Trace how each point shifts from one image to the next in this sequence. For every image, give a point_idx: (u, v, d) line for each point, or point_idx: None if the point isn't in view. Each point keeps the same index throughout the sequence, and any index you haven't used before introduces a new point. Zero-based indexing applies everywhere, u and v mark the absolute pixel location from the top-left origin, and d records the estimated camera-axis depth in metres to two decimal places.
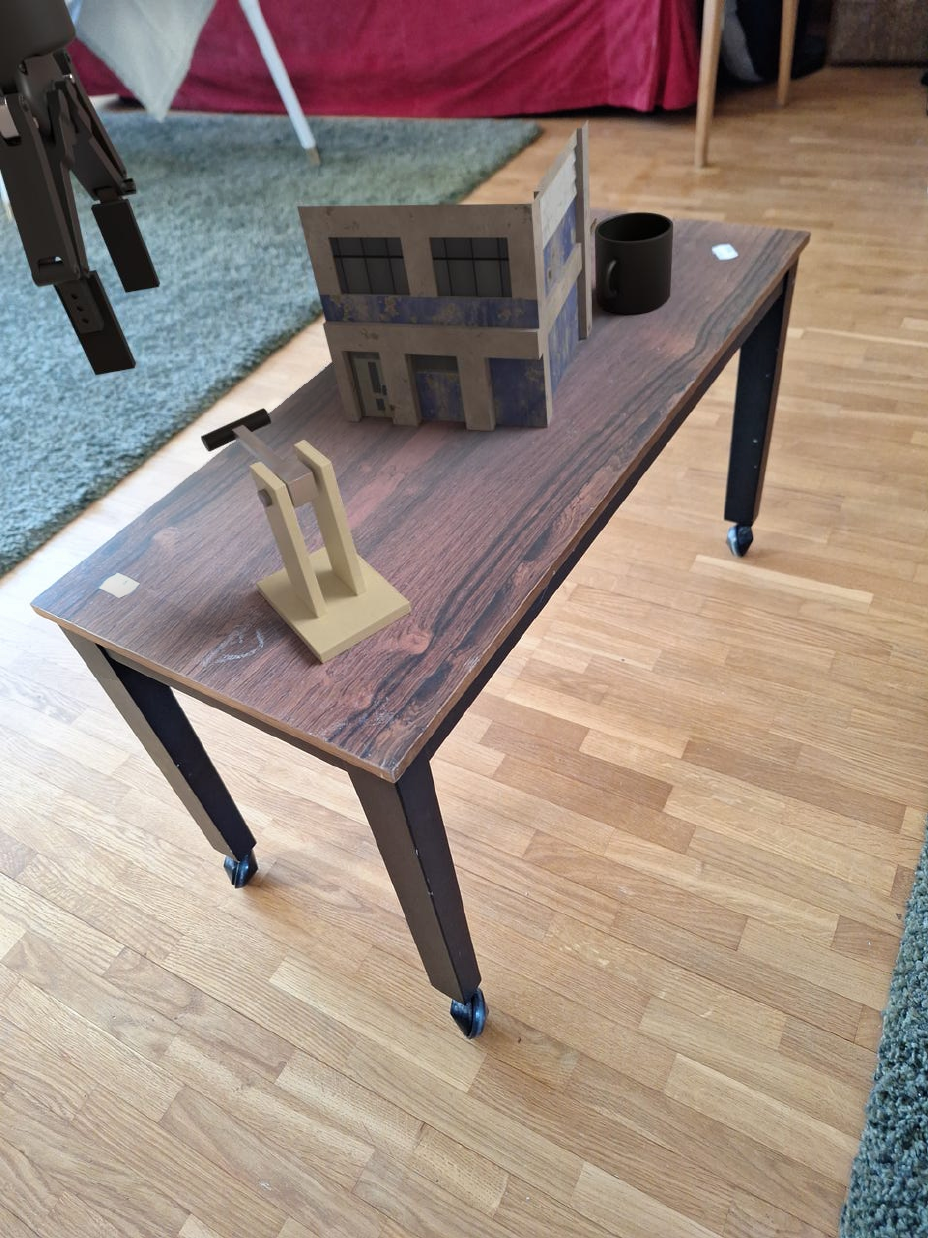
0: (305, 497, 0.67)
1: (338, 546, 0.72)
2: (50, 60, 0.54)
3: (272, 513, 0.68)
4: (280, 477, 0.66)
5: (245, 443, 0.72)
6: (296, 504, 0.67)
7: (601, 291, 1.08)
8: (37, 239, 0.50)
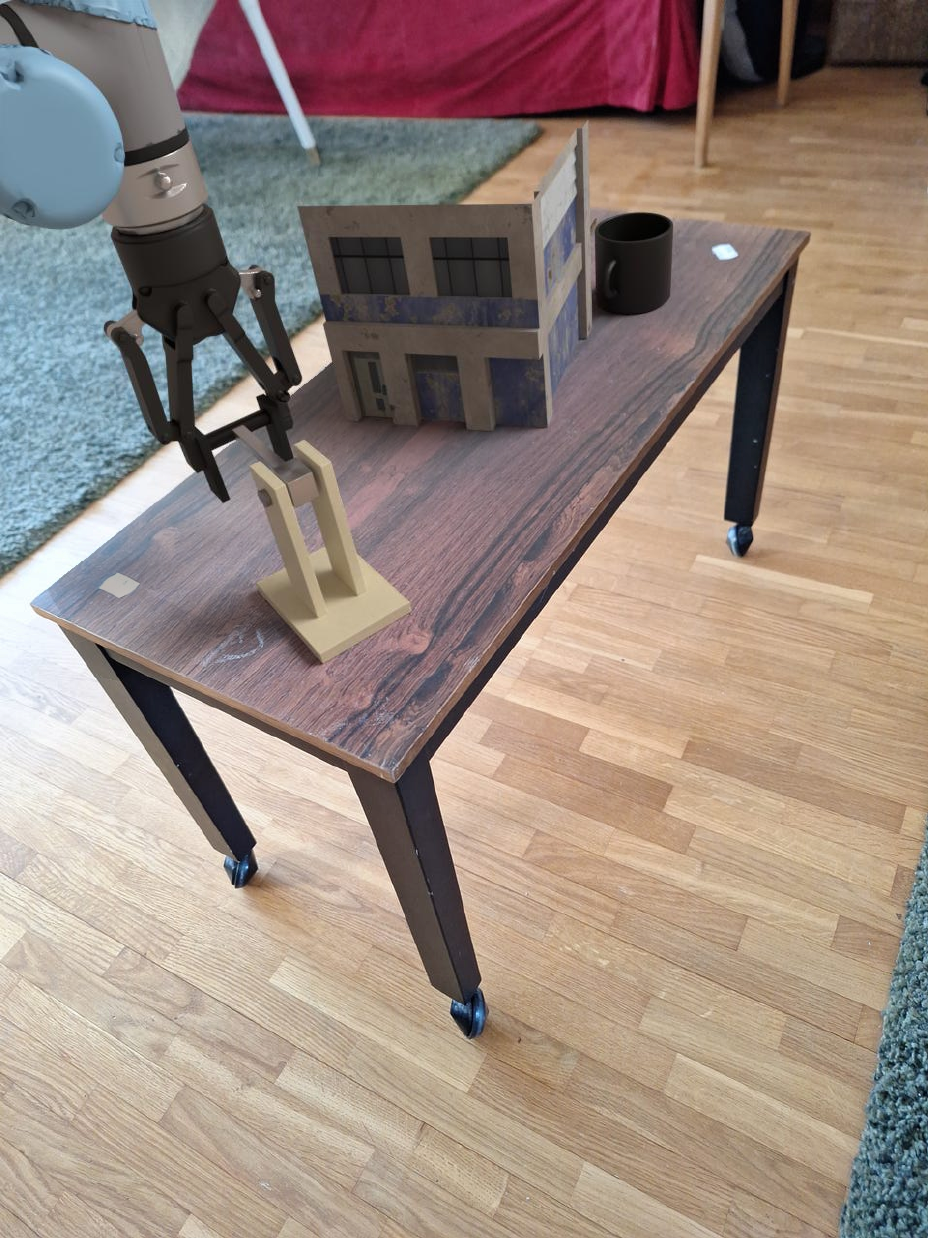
0: (305, 497, 0.67)
1: (338, 546, 0.72)
2: (218, 274, 0.65)
3: (272, 513, 0.68)
4: (280, 477, 0.66)
5: (245, 443, 0.72)
6: (296, 504, 0.67)
7: (601, 291, 1.08)
8: (144, 413, 0.69)
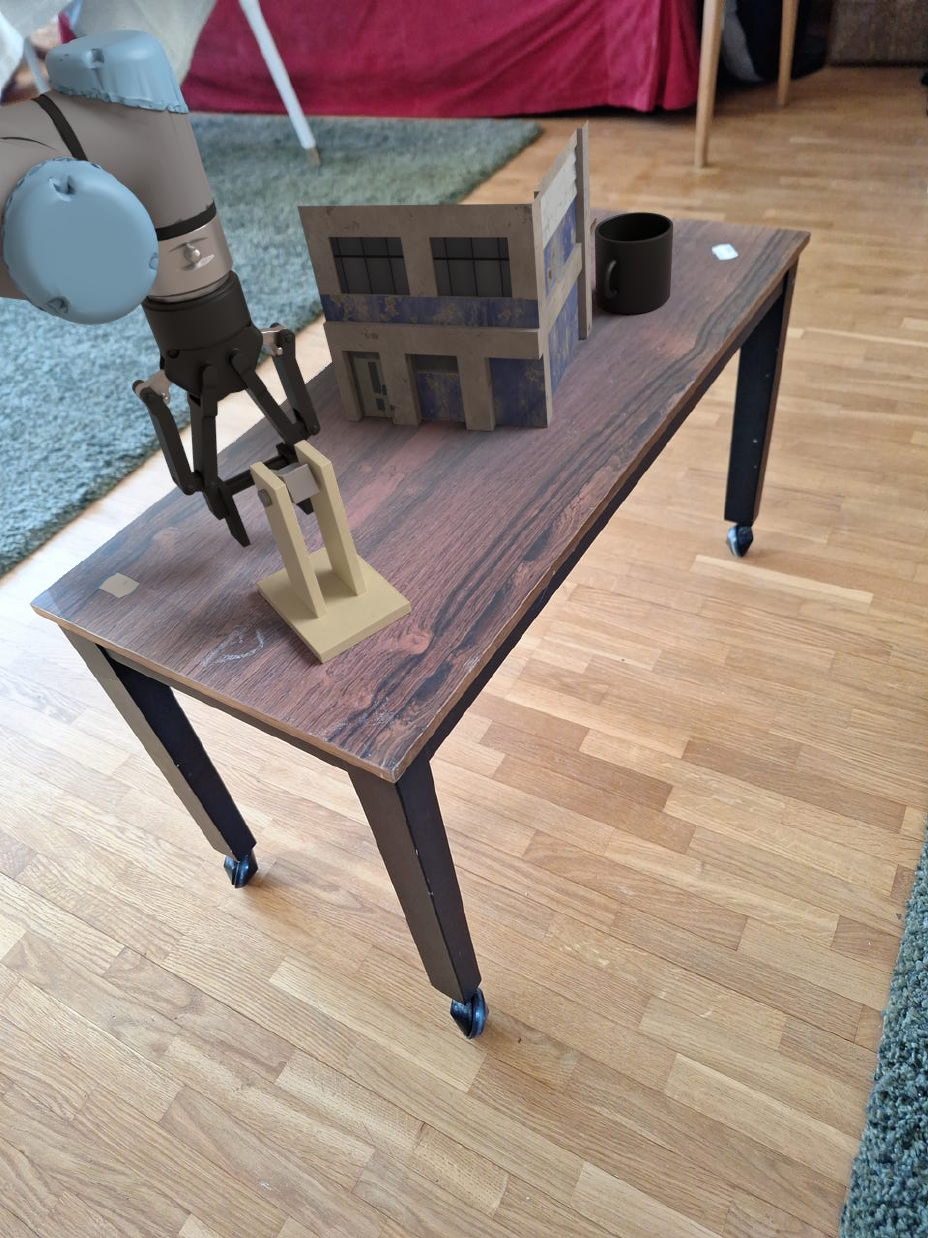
0: (304, 492, 0.66)
1: (338, 546, 0.72)
2: (241, 334, 0.68)
3: (272, 513, 0.68)
4: (278, 475, 0.66)
5: None
6: (295, 499, 0.66)
7: (601, 291, 1.08)
8: (170, 466, 0.71)
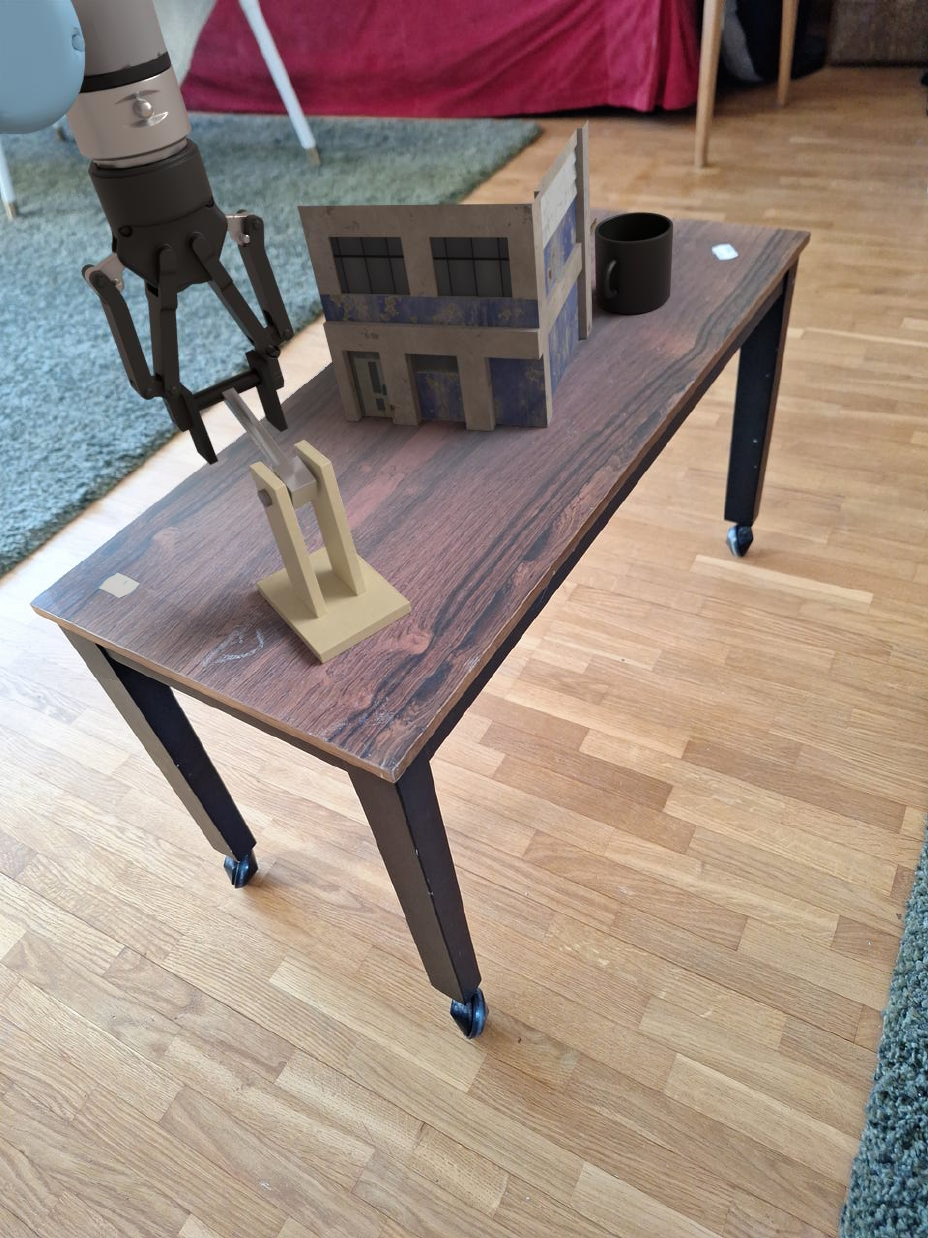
0: (304, 500, 0.67)
1: (338, 546, 0.72)
2: (203, 215, 0.61)
3: (272, 513, 0.68)
4: (283, 481, 0.66)
5: (238, 415, 0.69)
6: (295, 506, 0.67)
7: (601, 291, 1.08)
8: (126, 366, 0.65)
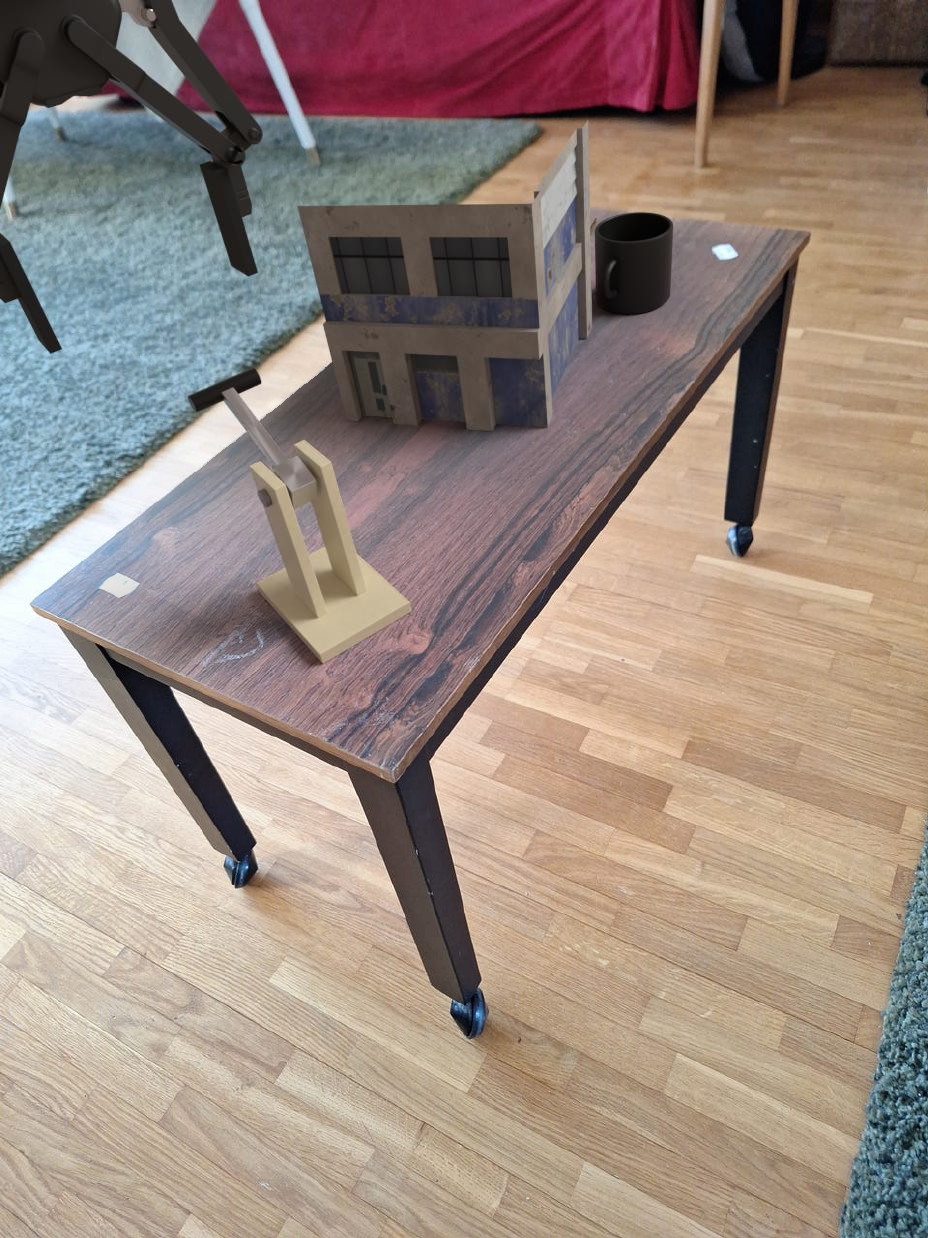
0: (304, 500, 0.67)
1: (338, 546, 0.72)
2: None
3: (272, 513, 0.68)
4: (283, 481, 0.66)
5: (238, 415, 0.69)
6: (295, 506, 0.67)
7: (601, 291, 1.08)
8: None
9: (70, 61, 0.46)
